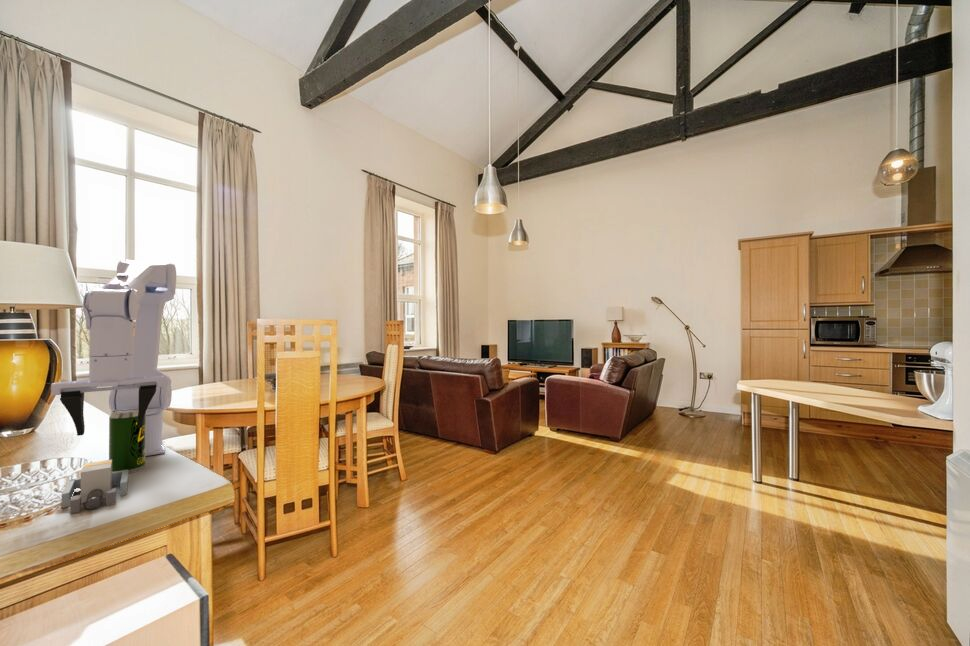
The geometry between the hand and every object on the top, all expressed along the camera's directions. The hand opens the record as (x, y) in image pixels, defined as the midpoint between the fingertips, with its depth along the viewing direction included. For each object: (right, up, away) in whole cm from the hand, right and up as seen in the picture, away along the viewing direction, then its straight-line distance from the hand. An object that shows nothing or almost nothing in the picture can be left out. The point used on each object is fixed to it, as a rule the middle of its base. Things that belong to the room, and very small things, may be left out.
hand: (111, 430), depth 71 cm
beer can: (-3, -10, +7) cm, 13 cm away
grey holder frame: (+2, -10, -5) cm, 11 cm away
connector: (+3, -10, -6) cm, 12 cm away
